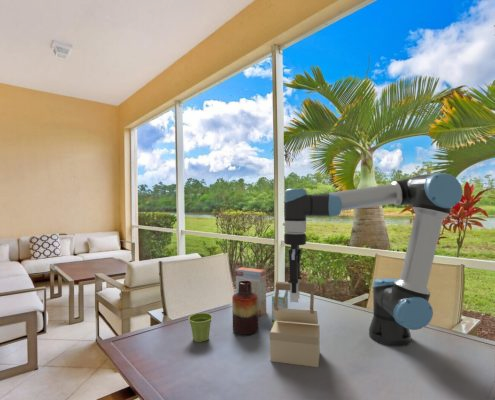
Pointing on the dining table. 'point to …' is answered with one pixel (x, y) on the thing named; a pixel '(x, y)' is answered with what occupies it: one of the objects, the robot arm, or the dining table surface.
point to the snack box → (280, 302)
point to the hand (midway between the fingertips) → (294, 299)
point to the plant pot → (200, 326)
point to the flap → (295, 314)
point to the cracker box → (254, 284)
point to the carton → (295, 343)
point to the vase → (245, 310)
